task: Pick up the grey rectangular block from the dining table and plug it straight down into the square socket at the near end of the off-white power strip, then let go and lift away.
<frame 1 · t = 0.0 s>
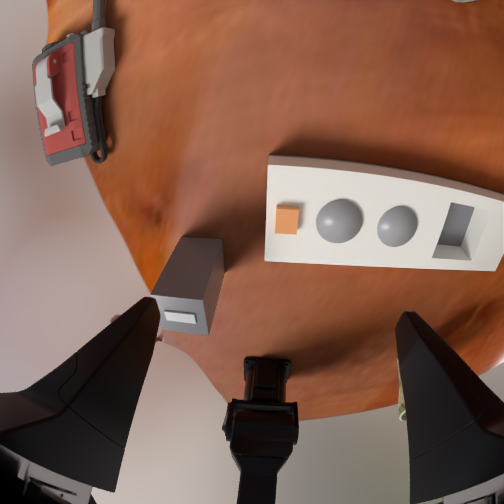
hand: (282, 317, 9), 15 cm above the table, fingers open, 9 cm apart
walkie-talkie: (81, 64, 16), on the table
grey rectangular block: (203, 255, 26), on the table
power strip: (408, 212, 22), on the table
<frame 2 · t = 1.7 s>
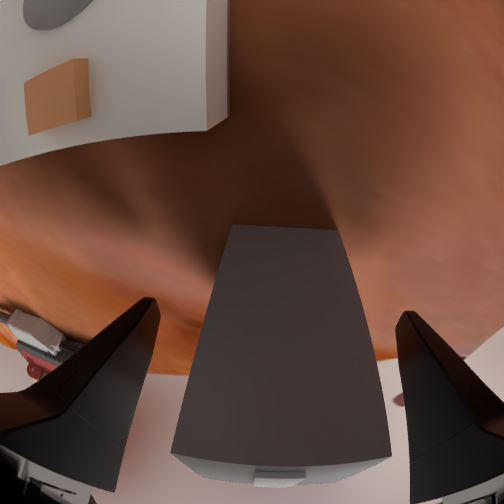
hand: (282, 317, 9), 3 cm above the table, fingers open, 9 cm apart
walkie-talkie: (53, 340, 19), on the table
grey rectangular block: (282, 269, 11), on the table
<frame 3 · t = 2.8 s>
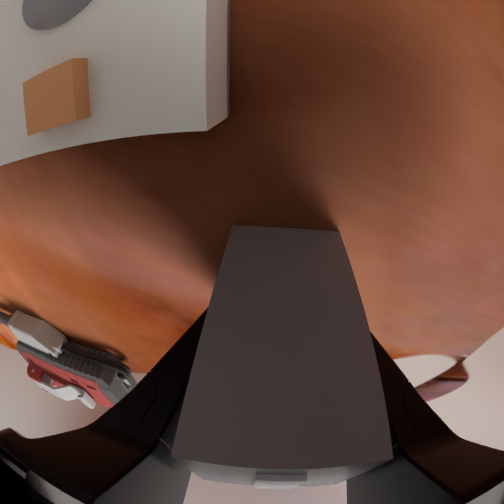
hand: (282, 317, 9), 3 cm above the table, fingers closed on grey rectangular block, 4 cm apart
walkie-talkie: (54, 341, 19), on the table
grey rectangular block: (282, 270, 11), on the table, touching gripper
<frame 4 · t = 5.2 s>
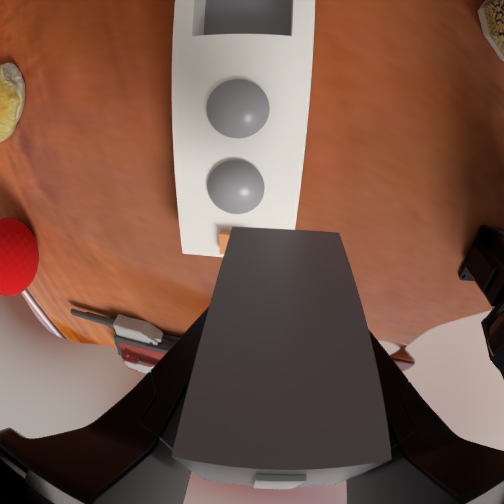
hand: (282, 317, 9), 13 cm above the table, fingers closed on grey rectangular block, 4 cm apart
bread roll: (8, 100, 15), on the table
ornament: (29, 235, 25), on the table
walkie-talkie: (141, 334, 33), on the table
grey rectangular block: (282, 271, 11), point 10 cm above the table, touching gripper
power strip: (245, 71, 15), on the table
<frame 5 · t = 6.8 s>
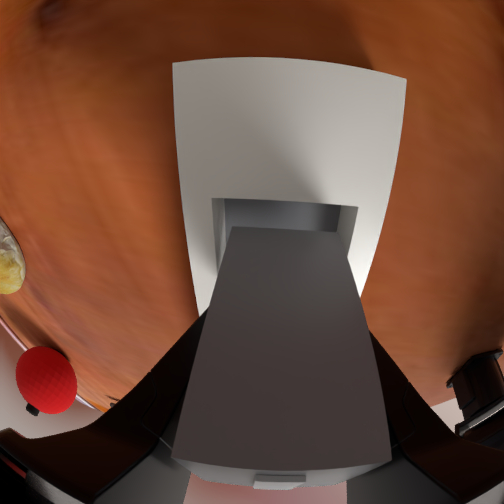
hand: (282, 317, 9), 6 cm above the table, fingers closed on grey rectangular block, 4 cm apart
bread roll: (3, 245, 18), on the table
ornament: (60, 353, 27), on the table
grey rectangular block: (282, 271, 11), point 4 cm above the table, touching gripper
power strip: (275, 297, 17), on the table
when the fingers open (4 cm above the table, at t = 7.9 s): grey rectangular block stays where it is, resting on power strip.
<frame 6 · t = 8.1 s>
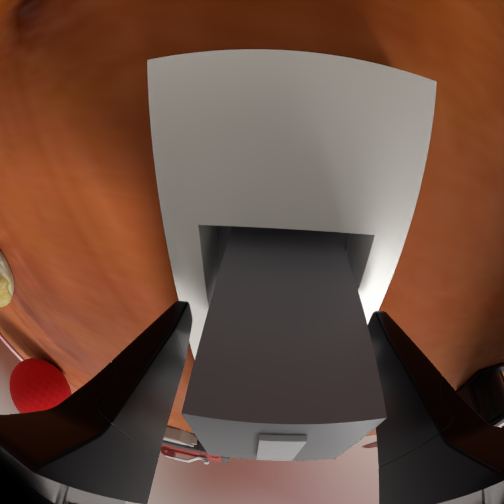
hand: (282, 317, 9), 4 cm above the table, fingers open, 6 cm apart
ornament: (54, 365, 26), on the table
walkie-talkie: (174, 431, 34), on the table
grey rectangular block: (282, 257, 12), resting on power strip
power strip: (274, 322, 15), on the table
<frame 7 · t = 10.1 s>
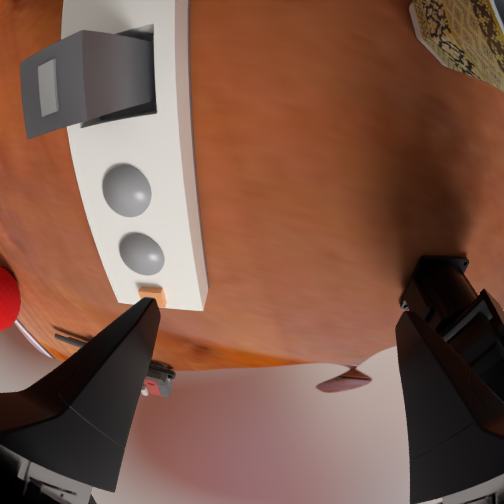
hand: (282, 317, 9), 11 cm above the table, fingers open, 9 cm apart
ornament: (11, 276, 27), on the table
walkie-talkie: (116, 356, 35), on the table
grey rectangular block: (130, 76, 13), resting on power strip
power strip: (139, 142, 17), on the table
ceramic cup: (459, 32, 9), on the table
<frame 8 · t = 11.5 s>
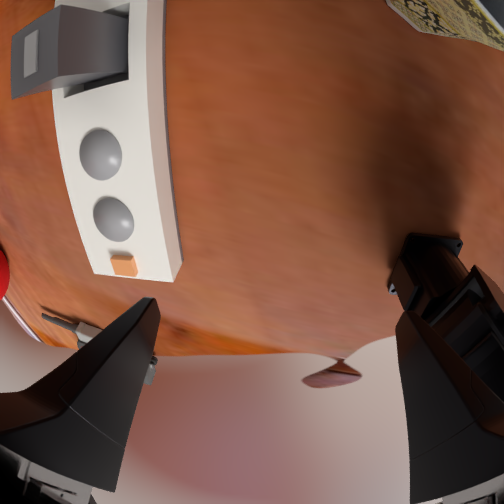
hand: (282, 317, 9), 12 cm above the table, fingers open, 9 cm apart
ornament: (2, 254, 27), on the table
walkie-talkie: (101, 340, 35), on the table
grey rectangular block: (112, 52, 13), resting on power strip
power strip: (118, 112, 16), on the table
ceramic cup: (435, 1, 9), on the table
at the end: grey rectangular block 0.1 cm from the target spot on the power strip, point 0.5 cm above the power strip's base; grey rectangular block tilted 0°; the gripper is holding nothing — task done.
